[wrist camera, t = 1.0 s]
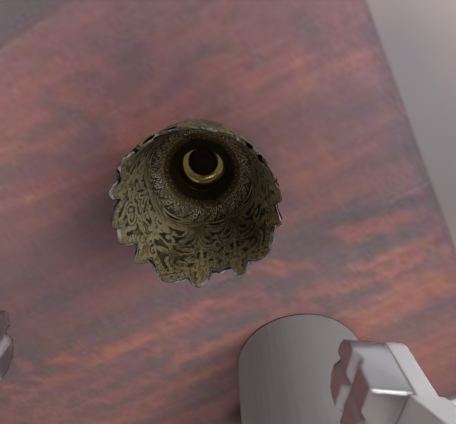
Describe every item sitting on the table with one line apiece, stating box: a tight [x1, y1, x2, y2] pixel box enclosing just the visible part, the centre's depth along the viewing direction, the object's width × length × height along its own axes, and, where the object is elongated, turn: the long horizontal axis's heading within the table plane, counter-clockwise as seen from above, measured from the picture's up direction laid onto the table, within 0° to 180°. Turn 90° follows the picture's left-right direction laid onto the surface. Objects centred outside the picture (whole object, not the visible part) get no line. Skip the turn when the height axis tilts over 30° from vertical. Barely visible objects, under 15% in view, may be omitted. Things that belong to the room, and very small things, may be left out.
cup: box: [109, 120, 282, 288], centre depth 20 cm, size 8×7×8 cm
